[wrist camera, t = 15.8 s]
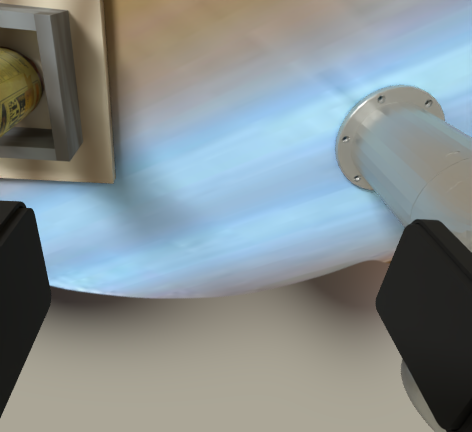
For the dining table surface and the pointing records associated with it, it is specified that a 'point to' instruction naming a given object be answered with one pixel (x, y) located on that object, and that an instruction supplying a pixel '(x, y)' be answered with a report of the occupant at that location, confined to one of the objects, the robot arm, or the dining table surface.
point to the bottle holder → (61, 92)
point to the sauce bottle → (17, 88)
